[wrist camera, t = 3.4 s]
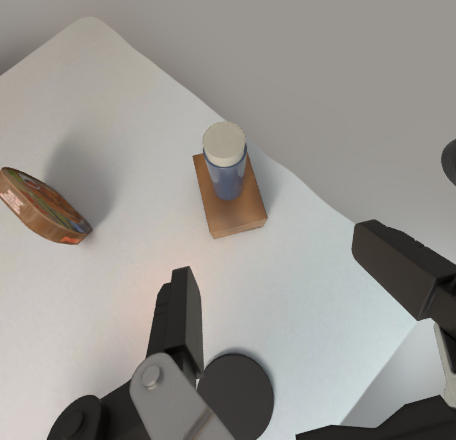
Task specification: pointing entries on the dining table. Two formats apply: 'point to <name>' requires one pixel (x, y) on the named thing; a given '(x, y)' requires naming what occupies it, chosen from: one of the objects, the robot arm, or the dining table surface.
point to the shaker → (225, 158)
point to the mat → (238, 395)
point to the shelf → (230, 203)
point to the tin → (41, 208)
